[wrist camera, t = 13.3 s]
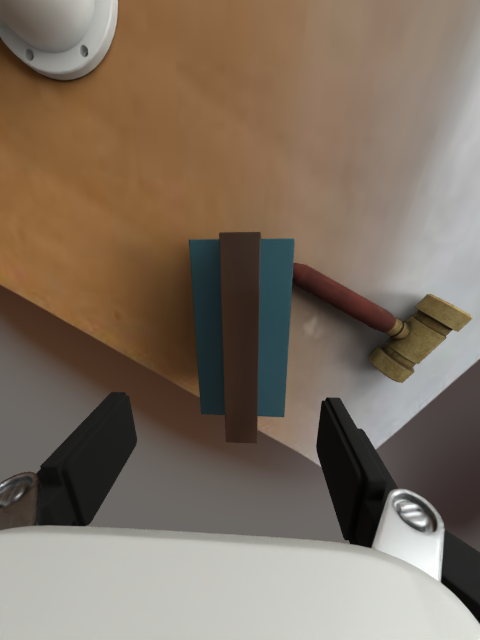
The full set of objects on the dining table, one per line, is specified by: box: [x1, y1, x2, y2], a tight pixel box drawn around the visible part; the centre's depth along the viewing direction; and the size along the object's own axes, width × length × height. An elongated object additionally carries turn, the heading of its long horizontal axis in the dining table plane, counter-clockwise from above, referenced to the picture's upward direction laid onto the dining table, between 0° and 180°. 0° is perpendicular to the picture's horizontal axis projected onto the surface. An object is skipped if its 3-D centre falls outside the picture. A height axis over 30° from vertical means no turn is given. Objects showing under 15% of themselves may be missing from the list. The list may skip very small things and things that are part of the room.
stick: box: [219, 232, 261, 443], centre depth 21 cm, size 3×19×3 cm, turn 0°
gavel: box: [292, 263, 472, 383], centre depth 27 cm, size 21×5×10 cm
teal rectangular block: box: [189, 239, 295, 417], centre depth 26 cm, size 9×18×8 cm, turn 0°
